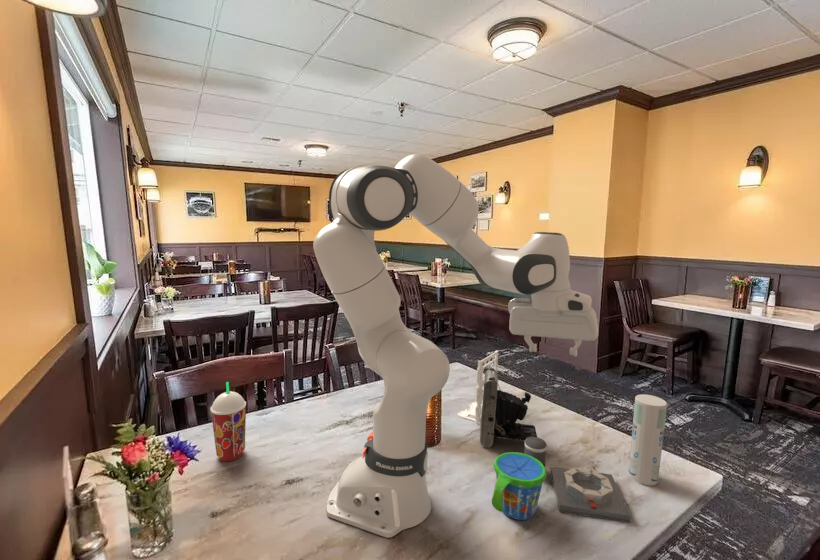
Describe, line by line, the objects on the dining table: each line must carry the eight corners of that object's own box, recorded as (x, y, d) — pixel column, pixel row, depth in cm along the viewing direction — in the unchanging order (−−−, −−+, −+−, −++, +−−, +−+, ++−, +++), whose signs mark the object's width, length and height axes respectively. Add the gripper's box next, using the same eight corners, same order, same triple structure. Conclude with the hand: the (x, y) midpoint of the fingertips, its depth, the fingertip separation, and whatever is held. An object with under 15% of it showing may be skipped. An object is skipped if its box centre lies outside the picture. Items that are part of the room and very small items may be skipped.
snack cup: (521, 482, 94) (523, 442, 92) (560, 509, 85) (563, 465, 84) (473, 509, 85) (475, 465, 83) (511, 541, 76) (514, 493, 75)
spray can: (658, 489, 92) (667, 408, 89) (627, 480, 95) (634, 401, 93) (658, 474, 97) (666, 398, 95) (628, 466, 101) (635, 392, 98)
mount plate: (559, 511, 84) (560, 496, 84) (550, 471, 98) (551, 458, 97) (630, 522, 82) (631, 507, 81) (611, 480, 95) (612, 466, 95)
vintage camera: (537, 456, 105) (544, 385, 103) (478, 447, 108) (484, 378, 106) (533, 438, 115) (539, 372, 112) (479, 430, 118) (484, 366, 115)
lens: (523, 477, 96) (525, 446, 95) (522, 464, 101) (524, 435, 100) (545, 480, 95) (547, 449, 94) (543, 467, 100) (545, 438, 99)
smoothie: (253, 455, 103) (250, 382, 100) (221, 469, 97) (216, 392, 94) (239, 443, 109) (236, 373, 106) (208, 455, 103) (203, 382, 100)
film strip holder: (474, 400, 137) (476, 345, 135) (512, 412, 129) (515, 353, 127) (454, 416, 126) (456, 356, 123) (494, 430, 118) (497, 366, 115)
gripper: (504, 301, 96) (507, 353, 99) (595, 304, 86) (596, 363, 89) (511, 294, 102) (514, 344, 105) (598, 297, 91) (599, 352, 94)
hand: (552, 353), depth 97 cm, fingers open, 8 cm apart
